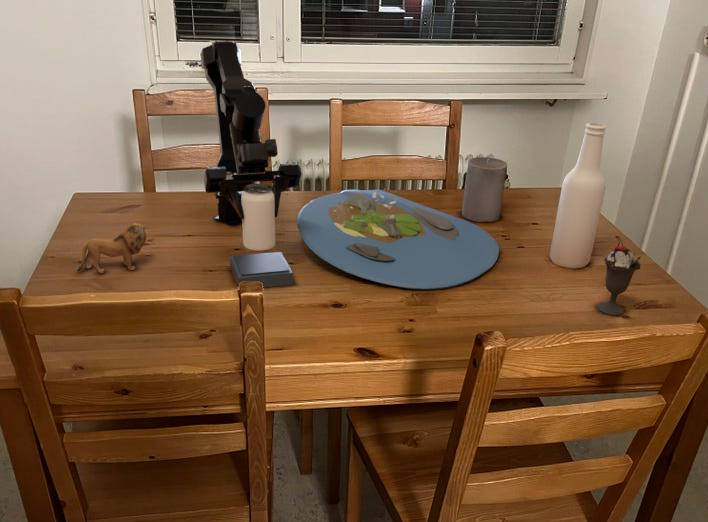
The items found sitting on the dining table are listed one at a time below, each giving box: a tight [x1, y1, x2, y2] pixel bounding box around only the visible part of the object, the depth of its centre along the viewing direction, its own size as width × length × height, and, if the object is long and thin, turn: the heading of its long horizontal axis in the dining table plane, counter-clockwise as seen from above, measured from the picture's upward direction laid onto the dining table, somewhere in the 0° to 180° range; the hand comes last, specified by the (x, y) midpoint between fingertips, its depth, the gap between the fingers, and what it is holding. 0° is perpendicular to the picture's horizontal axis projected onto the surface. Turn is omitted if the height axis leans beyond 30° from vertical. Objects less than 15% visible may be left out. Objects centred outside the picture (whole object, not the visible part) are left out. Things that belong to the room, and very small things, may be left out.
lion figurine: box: [76, 222, 147, 274], centre depth 151 cm, size 15×5×9 cm, turn 116°
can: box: [241, 183, 276, 253], centre depth 146 cm, size 6×6×12 cm
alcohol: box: [549, 121, 607, 269], centre depth 157 cm, size 9×9×30 cm
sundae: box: [597, 235, 642, 316], centre depth 141 cm, size 7×7×15 cm
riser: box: [229, 251, 294, 289], centre depth 152 cm, size 11×11×3 cm
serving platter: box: [296, 187, 500, 291], centre depth 165 cm, size 45×43×12 cm
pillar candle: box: [461, 156, 508, 223], centre depth 184 cm, size 10×10×15 cm
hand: (259, 217), depth 145 cm, fingers closed on can, 6 cm apart
